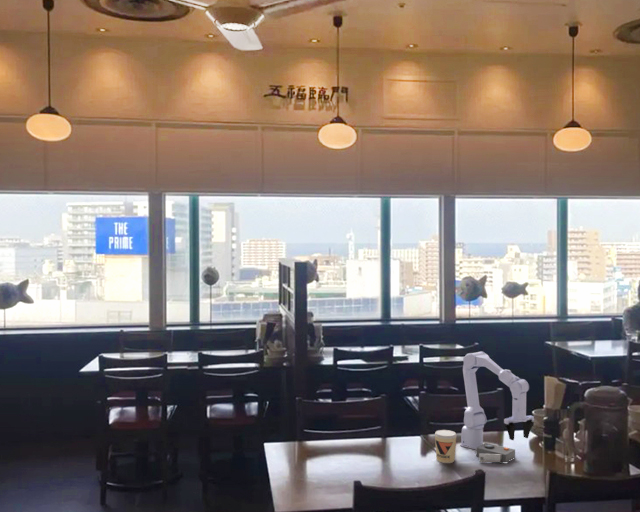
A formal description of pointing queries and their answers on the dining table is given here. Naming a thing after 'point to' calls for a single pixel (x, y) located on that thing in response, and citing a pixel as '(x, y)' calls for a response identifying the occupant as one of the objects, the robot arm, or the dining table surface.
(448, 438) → the coffee cup
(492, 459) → the side door
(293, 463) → the dining table surface
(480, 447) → the camera case
